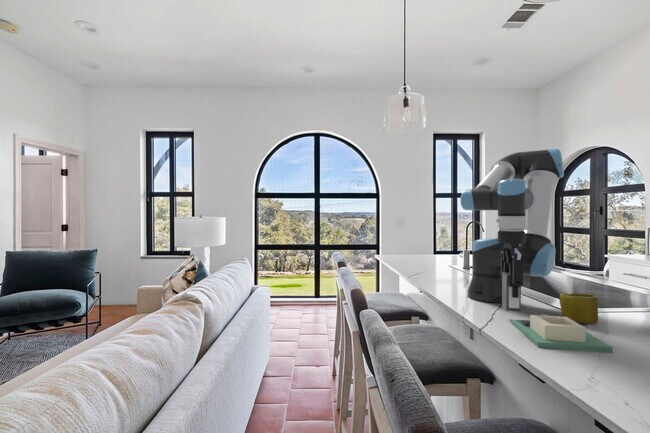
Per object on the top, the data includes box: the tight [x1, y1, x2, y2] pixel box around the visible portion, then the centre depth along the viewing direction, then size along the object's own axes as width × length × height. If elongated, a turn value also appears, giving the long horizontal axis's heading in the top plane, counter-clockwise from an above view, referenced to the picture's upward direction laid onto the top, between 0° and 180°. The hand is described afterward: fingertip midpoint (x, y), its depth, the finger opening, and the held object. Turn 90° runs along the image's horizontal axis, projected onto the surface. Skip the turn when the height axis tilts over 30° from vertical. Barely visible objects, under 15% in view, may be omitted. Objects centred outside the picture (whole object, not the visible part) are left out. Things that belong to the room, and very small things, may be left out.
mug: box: [558, 292, 599, 325], centre depth 104 cm, size 12×10×10 cm
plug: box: [501, 272, 522, 312], centre depth 105 cm, size 4×4×11 cm
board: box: [511, 313, 614, 354], centre depth 90 cm, size 18×16×5 cm
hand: (511, 305), depth 105 cm, fingers closed on plug, 4 cm apart
